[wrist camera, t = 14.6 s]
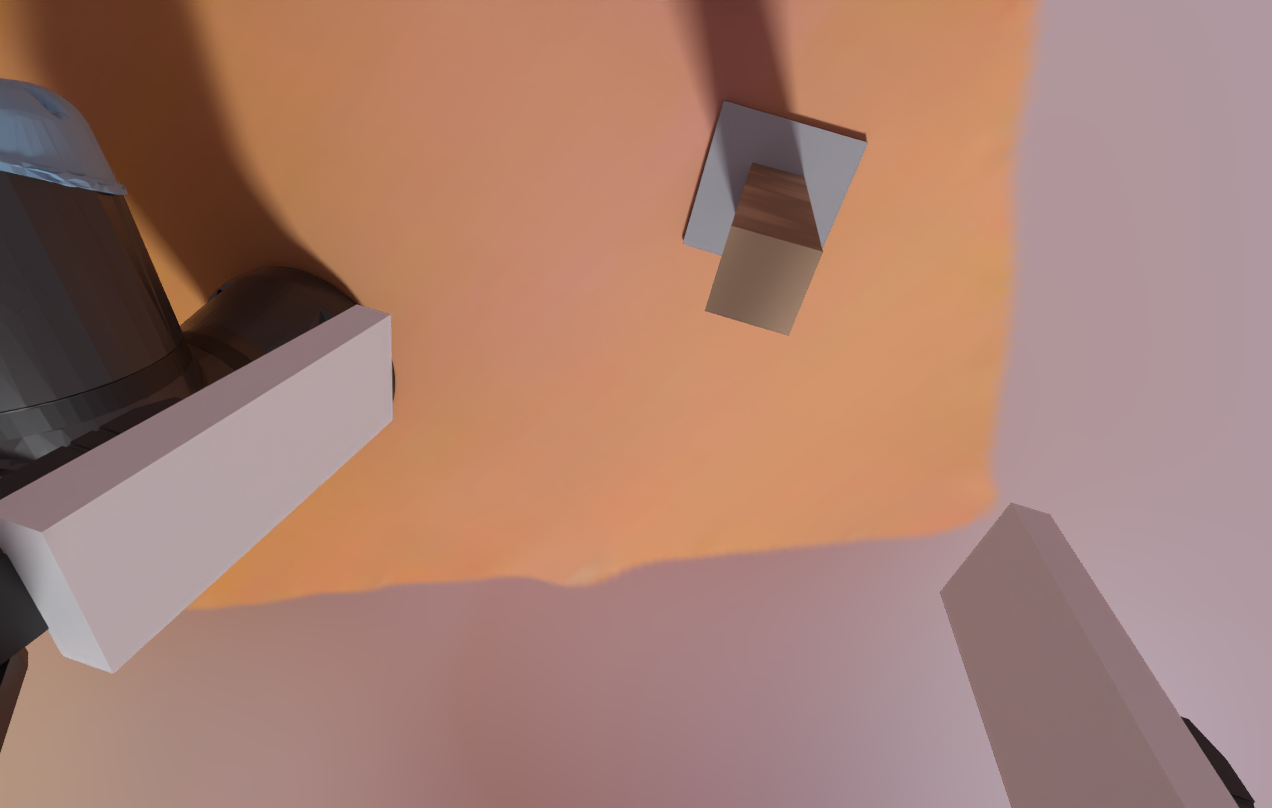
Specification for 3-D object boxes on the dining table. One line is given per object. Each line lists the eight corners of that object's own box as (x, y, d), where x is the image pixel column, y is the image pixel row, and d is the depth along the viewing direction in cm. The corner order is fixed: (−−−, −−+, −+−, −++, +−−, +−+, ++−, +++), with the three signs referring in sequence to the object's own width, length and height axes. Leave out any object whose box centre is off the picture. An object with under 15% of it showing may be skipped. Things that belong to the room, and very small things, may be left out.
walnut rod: (735, 215, 33) (704, 310, 19) (752, 162, 31) (730, 225, 18) (785, 229, 33) (788, 335, 19) (804, 176, 31) (823, 251, 18)
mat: (683, 242, 35) (682, 243, 34) (724, 100, 30) (723, 100, 30) (807, 280, 34) (807, 282, 34) (866, 142, 30) (867, 142, 30)
